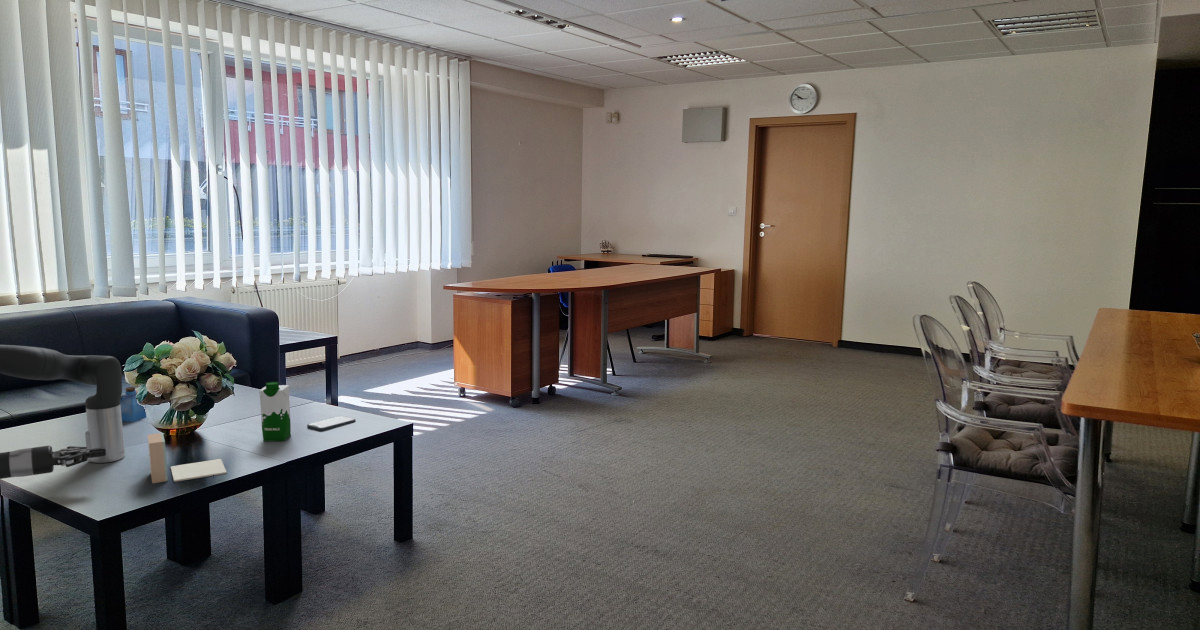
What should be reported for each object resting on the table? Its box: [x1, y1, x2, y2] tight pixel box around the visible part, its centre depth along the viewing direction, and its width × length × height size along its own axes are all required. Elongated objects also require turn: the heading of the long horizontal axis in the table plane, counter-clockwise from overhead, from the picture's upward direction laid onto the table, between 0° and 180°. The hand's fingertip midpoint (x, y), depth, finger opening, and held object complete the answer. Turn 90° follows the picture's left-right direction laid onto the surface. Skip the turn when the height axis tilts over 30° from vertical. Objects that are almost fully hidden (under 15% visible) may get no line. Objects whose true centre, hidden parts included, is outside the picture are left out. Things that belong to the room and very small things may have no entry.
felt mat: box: [170, 458, 228, 483], centre depth 238 cm, size 14×14×1 cm
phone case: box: [306, 415, 356, 432], centre depth 287 cm, size 9×2×16 cm
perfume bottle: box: [120, 386, 147, 423], centre depth 292 cm, size 6×6×12 cm
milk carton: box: [259, 381, 292, 442], centre depth 269 cm, size 9×9×20 cm
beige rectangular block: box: [147, 432, 169, 484], centre depth 231 cm, size 4×10×12 cm, turn 32°
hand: (105, 451), depth 224 cm, fingers closed
